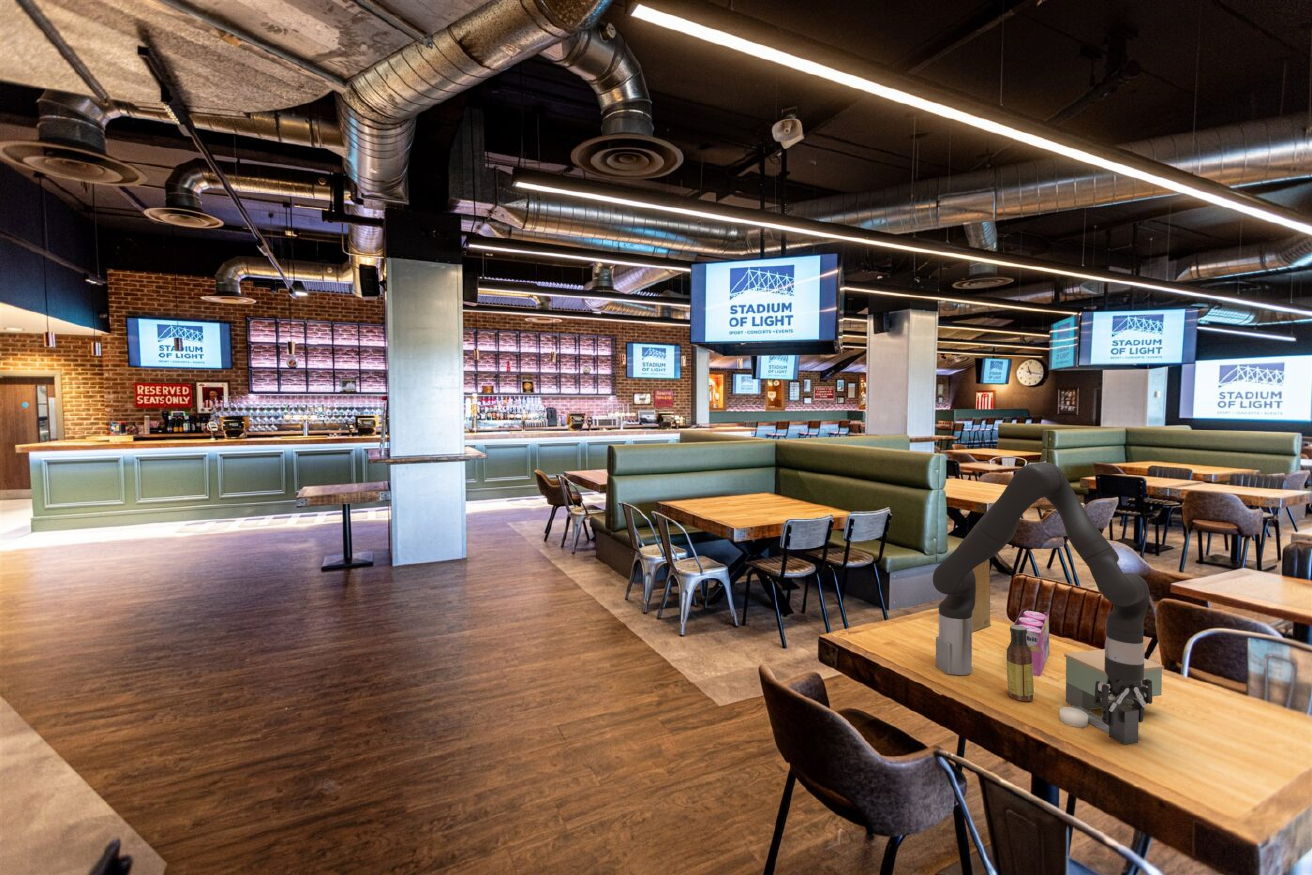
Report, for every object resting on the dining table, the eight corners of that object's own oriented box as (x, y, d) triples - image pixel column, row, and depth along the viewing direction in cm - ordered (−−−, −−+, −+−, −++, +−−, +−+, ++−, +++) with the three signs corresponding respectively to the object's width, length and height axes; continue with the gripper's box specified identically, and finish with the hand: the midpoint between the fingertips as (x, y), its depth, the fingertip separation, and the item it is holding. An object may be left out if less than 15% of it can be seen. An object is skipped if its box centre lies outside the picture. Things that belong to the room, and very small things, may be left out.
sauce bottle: (1030, 693, 168) (1030, 624, 167) (1036, 703, 162) (1037, 632, 161) (1004, 690, 170) (1004, 622, 169) (1009, 700, 164) (1009, 629, 163)
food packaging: (967, 618, 230) (967, 554, 229) (991, 625, 222) (992, 559, 221) (947, 625, 222) (947, 559, 222) (971, 633, 214) (971, 564, 214)
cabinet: (1106, 724, 151) (1107, 672, 150) (1063, 701, 163) (1064, 653, 163) (1163, 716, 154) (1164, 666, 154) (1117, 694, 167) (1117, 647, 166)
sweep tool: (1124, 745, 141) (1124, 712, 141) (1069, 714, 156) (1069, 684, 156) (1138, 743, 142) (1138, 710, 142) (1082, 712, 157) (1082, 682, 157)
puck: (1074, 729, 149) (1074, 719, 149) (1053, 717, 155) (1053, 708, 155) (1094, 726, 150) (1094, 716, 150) (1072, 714, 156) (1073, 705, 156)
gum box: (1022, 646, 202) (1022, 607, 201) (1050, 652, 197) (1050, 611, 196) (1010, 670, 183) (1010, 627, 183) (1041, 677, 178) (1041, 632, 178)
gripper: (1114, 666, 138) (1113, 734, 139) (1164, 660, 141) (1162, 727, 142) (1085, 653, 145) (1084, 718, 146) (1133, 648, 148) (1132, 711, 149)
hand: (1122, 722), depth 144 cm, fingers open, 8 cm apart
